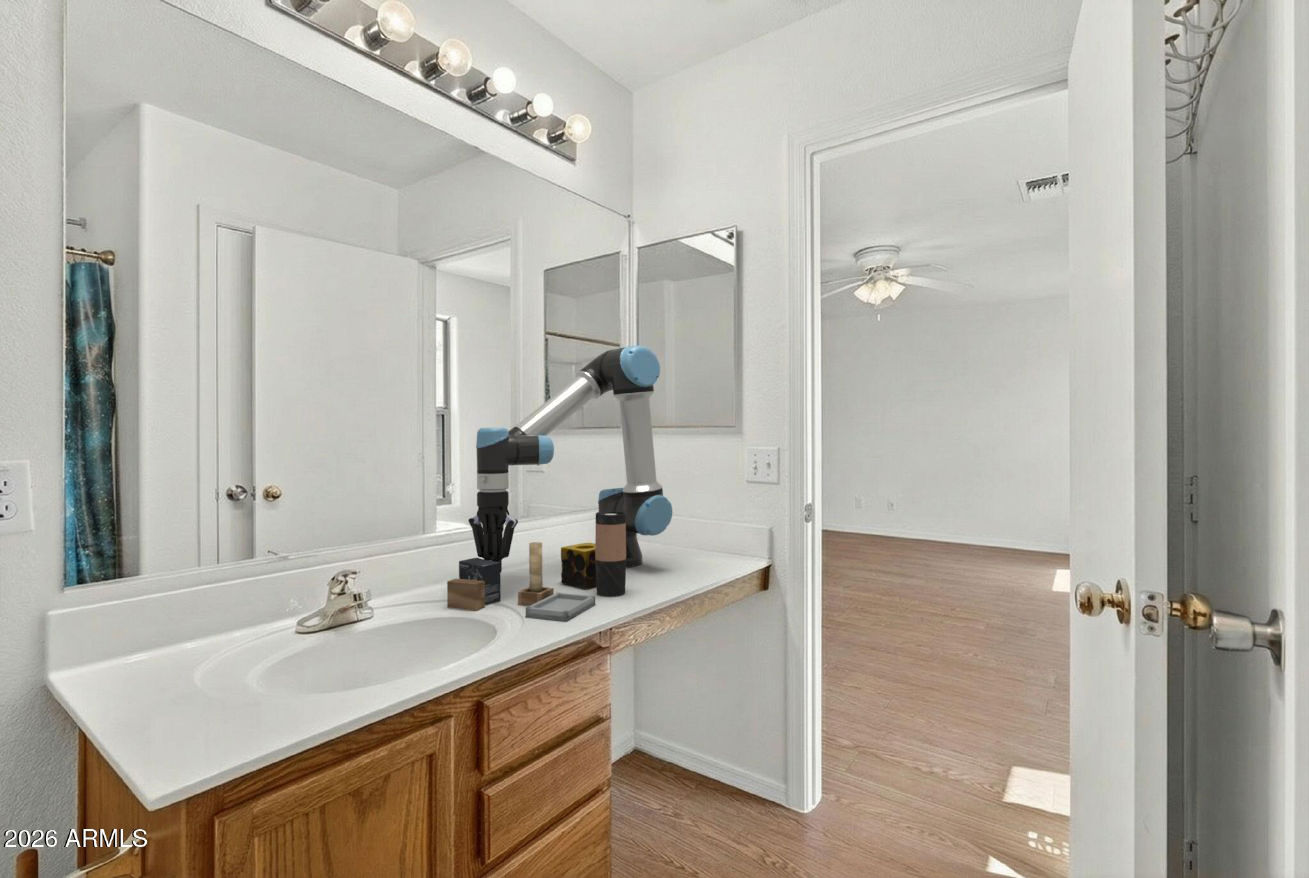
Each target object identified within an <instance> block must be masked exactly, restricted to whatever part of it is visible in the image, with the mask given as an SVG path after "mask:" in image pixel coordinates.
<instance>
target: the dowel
mask: <svg viewBox="0 0 1309 878" xmlns="http://www.w3.org/2000/svg"><path fill="white" fill-rule="evenodd" d="M528 544H529V545H528V547H529V549H528V551H529V553H528V558H529V559H528V561H529V562H528V563H529V565H528V566H529V567H528V569H529V570H528V572H529V574H528V575H529V582H528V583H529V586H528V587H529V590H530V592H536V593H540V592H542V587H543V543H542V542H539V541H536V542H529V543H528Z"/></svg>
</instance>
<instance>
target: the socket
mask: <svg viewBox="0 0 1309 878" xmlns="http://www.w3.org/2000/svg"><path fill="white" fill-rule="evenodd" d="M554 590H555V589H554V587H547V586H542V592H540V593H536V592H530V590H529V586H528V587H526V588H524V589H522V590H519V591H518V592H517V605H518V606H519V605H520V606H526V607H528V606H530V605H533V604H535V603H537V602H539V601H541V600H543V599H545V598H547V597H549V596H551V595H553V594H555V593H554V592H555V591H554Z"/></svg>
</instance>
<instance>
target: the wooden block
mask: <svg viewBox="0 0 1309 878" xmlns="http://www.w3.org/2000/svg"><path fill="white" fill-rule="evenodd" d="M446 585H447V586H446V589H447V590H446V591H447V592H446V593H447V594H446V595H447V597H446V598H447V599H446V601H447V608H448V609H458V610H467V611H473V612H475V611H476V612H478V611H480V610H482V609H484V608H485V607H486V605H485V581H476V580H466V579H459V578H454V579H453V578H452V579H450V580H447V581H446Z"/></svg>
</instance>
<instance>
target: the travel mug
mask: <svg viewBox="0 0 1309 878" xmlns="http://www.w3.org/2000/svg"><path fill="white" fill-rule="evenodd" d="M595 559H596V560H595V562H596V594H597V595H598V596H600V597H606V598H607V597H620V596H623V595H625V594H626V580H627V579H626V576H627V575H626V574H627V573H626V572H627V567H626V514H625V512H619V511H609V512H607V513H606V514H601V513H600V512H599V511H598V512H595Z"/></svg>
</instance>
